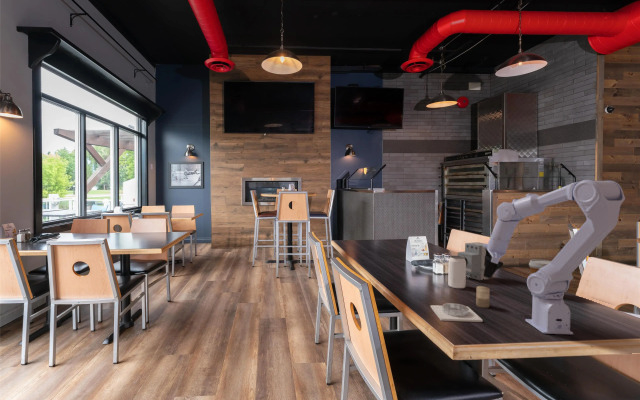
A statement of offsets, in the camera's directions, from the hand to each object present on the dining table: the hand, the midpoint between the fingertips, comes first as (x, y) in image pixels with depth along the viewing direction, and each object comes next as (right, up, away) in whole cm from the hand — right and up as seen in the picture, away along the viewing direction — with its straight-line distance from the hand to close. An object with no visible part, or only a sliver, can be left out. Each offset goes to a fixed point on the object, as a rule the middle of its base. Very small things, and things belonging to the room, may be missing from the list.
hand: (487, 271), depth 118 cm
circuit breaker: (+11, -10, +36) cm, 39 cm away
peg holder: (-15, -11, -10) cm, 21 cm away
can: (-2, -11, +21) cm, 24 cm away
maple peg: (-2, -11, -2) cm, 12 cm away
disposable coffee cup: (+28, -11, +14) cm, 33 cm away
